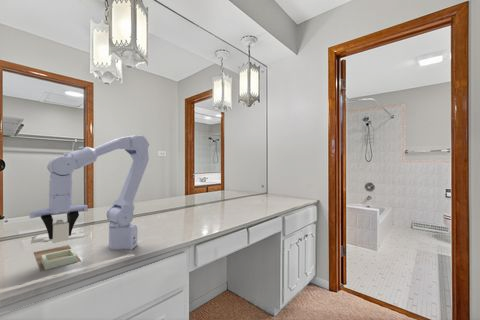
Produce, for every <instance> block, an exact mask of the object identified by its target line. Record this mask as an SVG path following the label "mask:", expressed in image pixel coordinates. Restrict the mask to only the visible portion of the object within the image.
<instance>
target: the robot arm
mask: <svg viewBox="0 0 480 320" xmlns="http://www.w3.org/2000/svg"><path fill="white" fill-rule="evenodd" d="M149 145H150V143H149V142H148V140H147V138H146V137H145V136H144V135H142V134H135V135H126V136H123V137H118V138H115V139H112V140H110V141H107V142H104V143H102V144H100V145H98V146H96V147H90V146H85V147H84V146H79V147H78V149H76V150H74V151H72V152H71V151H70V152H64V153H63V154H62V155H63V156H57V157H54V158H51V159H50V161H49V162H48V164H47V165H46V167H47V170H48V172H49V184H48V186H49V190H48V208H47V207H46V208H42V209H36V210H30V211H29V219H35V218H40V219H41V220H42V222H43V224H44V226H45V228H46V231H47V234H48V235H49V239H53V232H52V226H53V223H54V218H53V216H55V215H57V216H58V215H64V214H66V218H67V219H66V221H67V222H68V223H69V236H71V232H72V231H73V228H74V226H75V224H76V222H77V220H78V218H79V216H80V212H81V213H83V212H88V211H89V210H88V209H89V208H88V207H89V206H88V205H87V204H82V205H72V199H73V197H72V196H73V188H72V187H73V179H72V175H73V174H72V173H74V172H75V170H78V169H81V168H83V167H85V166H88V165H91V164H93V163H95V162H96V161H97V159H98V157H101V156H103V155H105V154H108V153H111V152H113V151H115V150H125V152H126V153H127V154H129V156H130V157H131V159H132V163H131V166H130V168H129V170H128V173H127V176H126V178H125V180H124V183H123V185H122V189H121V191H120V193H119V196H118V198H117V199H116V200H114V201H113V204H112V206H111V207H110V208H108V209H107V211H106V219H107V220H108V221H109V224H108V249H110V250H131V251H132V250H133V249H134V248H136V247H137V246H138V245H139V243H138V226H137V225H136V224H131V222H133V220H134V216H135V215H134V210H135V204H134V200H135V197H136V194H137V192H138V189H139V187H140V184H141V182H142V179H143V177H144V173H145V171H146V168H147V165H148V163H149V160H150V157H149Z"/></svg>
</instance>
